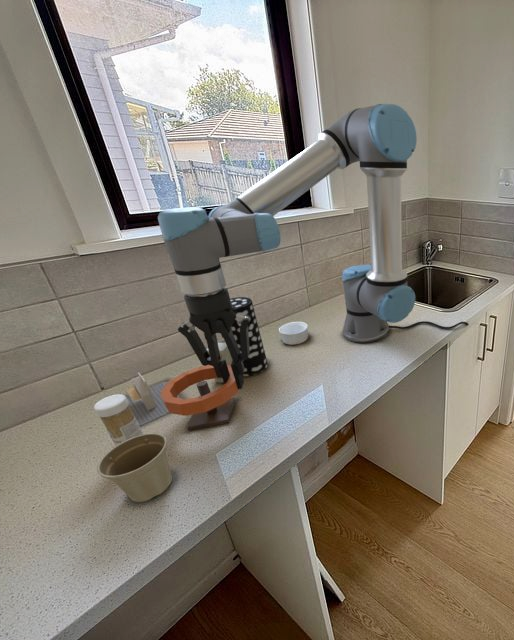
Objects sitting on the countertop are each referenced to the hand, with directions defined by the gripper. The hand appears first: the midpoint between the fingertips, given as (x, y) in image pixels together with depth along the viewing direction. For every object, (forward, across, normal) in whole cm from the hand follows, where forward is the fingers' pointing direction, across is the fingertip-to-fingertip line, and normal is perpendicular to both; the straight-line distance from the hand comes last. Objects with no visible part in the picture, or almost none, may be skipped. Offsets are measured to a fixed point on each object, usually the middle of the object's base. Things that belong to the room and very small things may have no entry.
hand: (235, 386), depth 77 cm
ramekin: (+7, -11, -32) cm, 34 cm away
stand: (+7, +6, 0) cm, 9 cm away
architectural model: (+7, +22, -9) cm, 25 cm away
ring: (0, +6, 0) cm, 6 cm away
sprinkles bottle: (+7, +18, +8) cm, 21 cm away
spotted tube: (+7, 0, -18) cm, 20 cm away
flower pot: (+7, +12, +18) cm, 23 cm away
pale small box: (+7, +6, -15) cm, 17 cm away
